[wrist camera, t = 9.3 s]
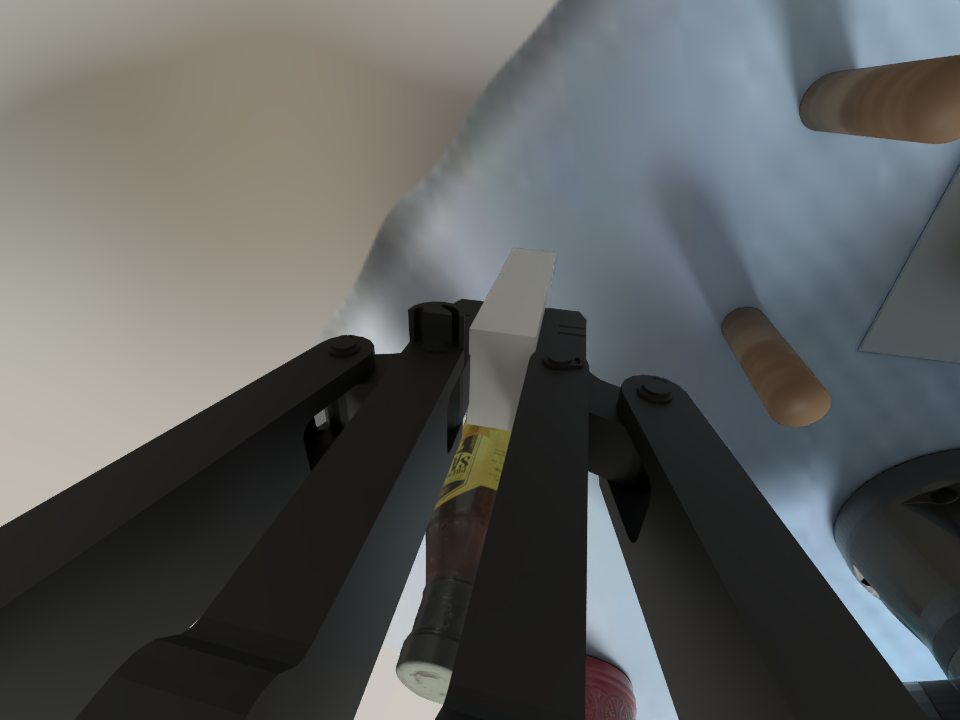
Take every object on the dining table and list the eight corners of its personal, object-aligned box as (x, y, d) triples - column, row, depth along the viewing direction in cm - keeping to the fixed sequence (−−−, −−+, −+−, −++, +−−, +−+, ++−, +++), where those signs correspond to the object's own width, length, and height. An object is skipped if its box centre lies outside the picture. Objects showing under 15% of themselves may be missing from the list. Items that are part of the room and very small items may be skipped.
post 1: (772, 309, 28) (841, 387, 20) (757, 345, 29) (817, 431, 21) (728, 304, 28) (780, 378, 20) (716, 340, 29) (759, 422, 22)
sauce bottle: (480, 374, 35) (378, 622, 18) (554, 399, 35) (521, 675, 18) (463, 433, 38) (364, 687, 22) (530, 456, 38) (484, 733, 21)
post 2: (871, 72, 21) (1027, 53, 14) (846, 132, 23) (976, 145, 15) (812, 70, 22) (931, 52, 14) (791, 129, 23) (890, 142, 15)
